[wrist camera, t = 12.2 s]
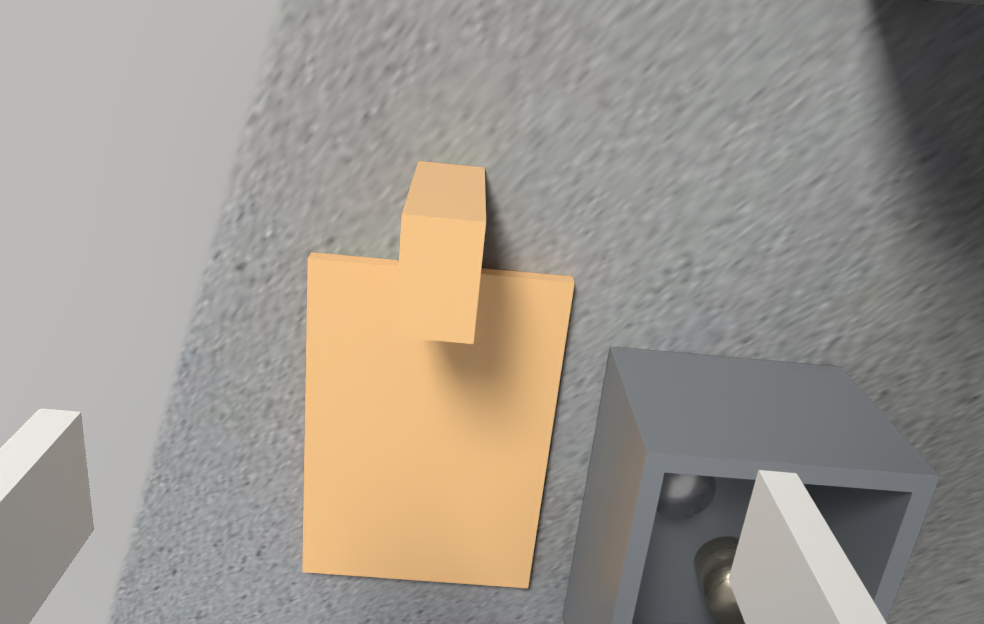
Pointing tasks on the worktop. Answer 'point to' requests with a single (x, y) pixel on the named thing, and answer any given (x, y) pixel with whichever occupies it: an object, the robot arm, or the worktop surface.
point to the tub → (733, 477)
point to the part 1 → (685, 494)
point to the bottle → (963, 1)
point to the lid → (430, 399)
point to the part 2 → (718, 578)
